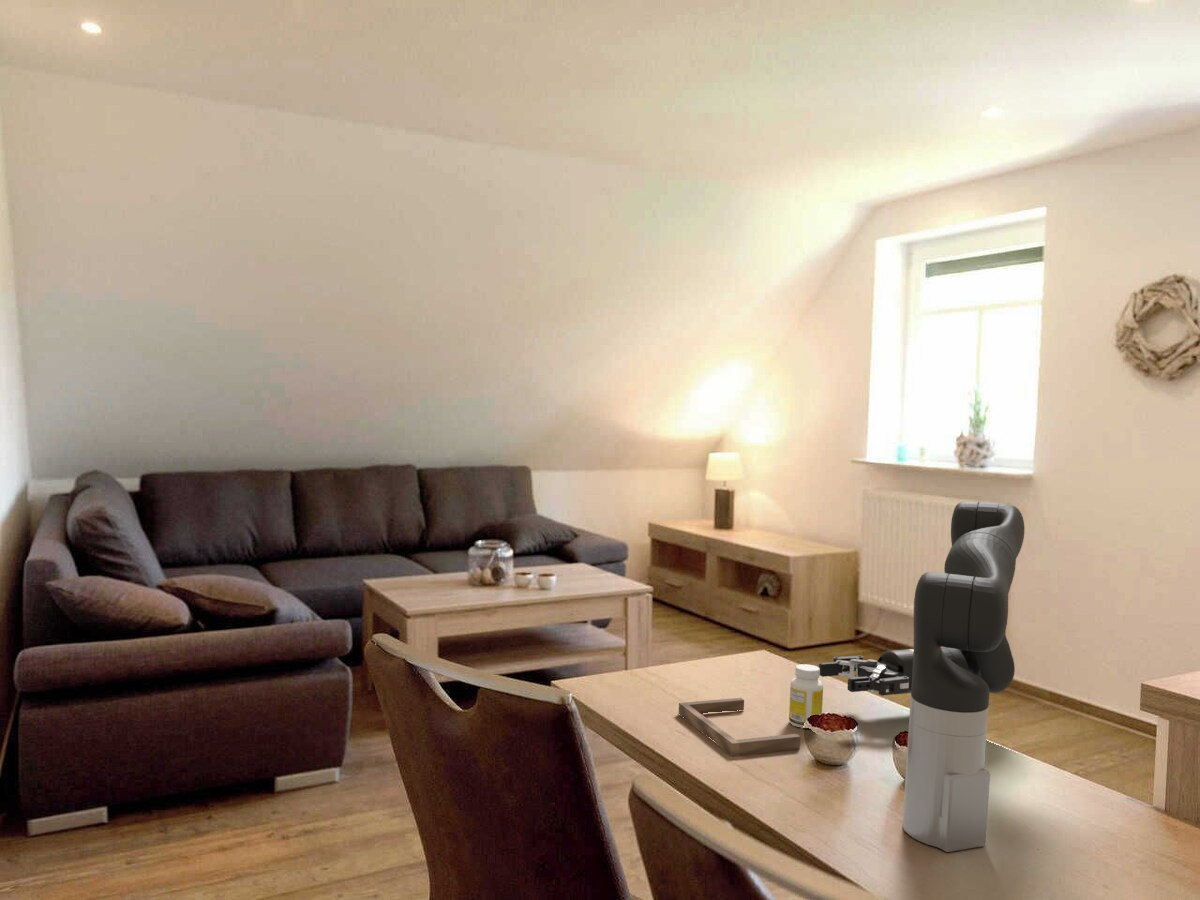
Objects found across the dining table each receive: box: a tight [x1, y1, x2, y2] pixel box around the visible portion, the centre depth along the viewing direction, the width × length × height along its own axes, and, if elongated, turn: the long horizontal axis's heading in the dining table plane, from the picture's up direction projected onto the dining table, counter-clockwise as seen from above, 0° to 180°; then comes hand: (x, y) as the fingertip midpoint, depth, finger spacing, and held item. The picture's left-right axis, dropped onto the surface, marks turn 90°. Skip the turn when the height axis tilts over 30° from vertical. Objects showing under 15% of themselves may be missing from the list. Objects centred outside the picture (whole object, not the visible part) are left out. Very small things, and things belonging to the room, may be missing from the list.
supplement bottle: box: [788, 663, 824, 730], centre depth 155 cm, size 5×5×10 cm
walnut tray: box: [678, 697, 801, 757], centre depth 151 cm, size 19×12×2 cm, turn 20°
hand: (833, 677), depth 157 cm, fingers open, 8 cm apart
